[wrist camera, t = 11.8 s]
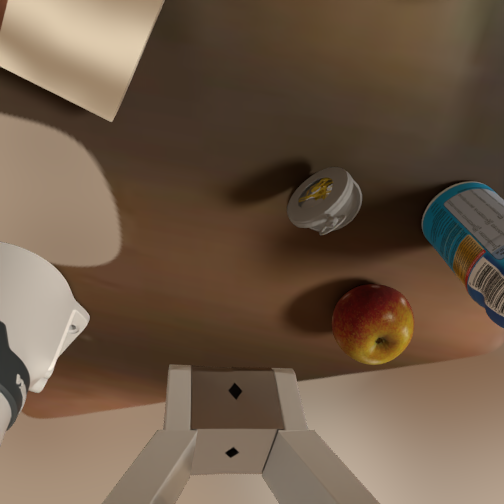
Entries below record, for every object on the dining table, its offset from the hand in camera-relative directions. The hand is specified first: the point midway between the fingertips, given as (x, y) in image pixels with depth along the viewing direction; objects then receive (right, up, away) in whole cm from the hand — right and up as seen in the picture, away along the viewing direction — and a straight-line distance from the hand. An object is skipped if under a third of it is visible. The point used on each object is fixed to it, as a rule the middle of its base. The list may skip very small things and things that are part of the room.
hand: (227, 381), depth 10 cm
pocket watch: (+8, +9, +32) cm, 34 cm away
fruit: (+14, -3, +42) cm, 44 cm away
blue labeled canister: (+23, +8, +36) cm, 43 cm away
